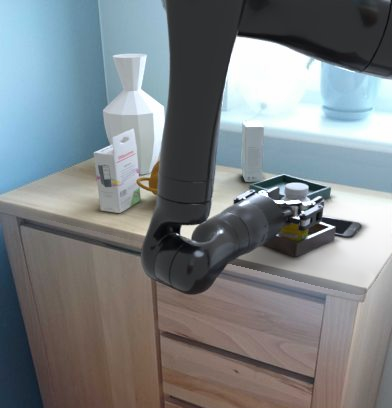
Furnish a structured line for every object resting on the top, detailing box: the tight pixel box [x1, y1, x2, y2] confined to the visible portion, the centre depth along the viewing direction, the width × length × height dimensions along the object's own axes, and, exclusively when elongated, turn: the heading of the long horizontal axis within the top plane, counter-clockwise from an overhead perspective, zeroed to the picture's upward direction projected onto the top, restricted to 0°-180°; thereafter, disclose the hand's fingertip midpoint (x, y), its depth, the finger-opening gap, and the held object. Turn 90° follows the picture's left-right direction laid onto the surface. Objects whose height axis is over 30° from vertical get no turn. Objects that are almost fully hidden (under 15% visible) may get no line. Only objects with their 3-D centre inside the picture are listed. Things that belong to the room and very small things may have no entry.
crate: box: [263, 222, 336, 258], centre depth 99 cm, size 11×11×2 cm
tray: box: [248, 173, 332, 201], centre depth 119 cm, size 13×11×2 cm
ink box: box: [92, 129, 142, 214], centre depth 112 cm, size 9×5×15 cm, turn 154°
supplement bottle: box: [278, 183, 310, 241], centre depth 97 cm, size 5×5×10 cm
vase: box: [102, 53, 165, 175], centre depth 130 cm, size 14×14×25 cm
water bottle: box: [137, 160, 159, 196], centre depth 116 cm, size 9×9×25 cm
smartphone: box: [322, 215, 362, 239], centre depth 106 cm, size 7×15×1 cm, turn 60°
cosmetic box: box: [241, 120, 265, 183], centre depth 127 cm, size 6×4×12 cm
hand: (298, 197), depth 97 cm, fingers open, 8 cm apart
